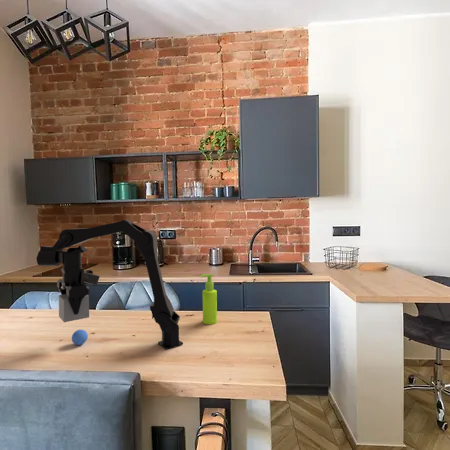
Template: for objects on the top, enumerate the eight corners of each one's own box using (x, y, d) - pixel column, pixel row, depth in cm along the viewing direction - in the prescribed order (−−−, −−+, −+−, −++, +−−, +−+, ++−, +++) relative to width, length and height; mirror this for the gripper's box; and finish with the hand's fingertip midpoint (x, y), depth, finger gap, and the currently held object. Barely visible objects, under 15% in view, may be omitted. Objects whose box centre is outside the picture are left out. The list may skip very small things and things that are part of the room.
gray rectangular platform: (89, 317, 103) (88, 296, 103) (64, 322, 98) (63, 299, 98) (82, 311, 109) (82, 291, 109) (58, 316, 104) (58, 295, 104)
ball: (69, 342, 101) (82, 349, 103) (80, 329, 103) (92, 336, 105) (67, 337, 105) (78, 344, 107) (77, 325, 107) (88, 332, 109)
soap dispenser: (198, 321, 127) (198, 273, 127) (213, 318, 130) (213, 272, 130) (203, 325, 122) (202, 276, 122) (219, 323, 125) (218, 274, 124)
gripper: (105, 266, 101) (106, 313, 101) (89, 260, 115) (90, 301, 116) (68, 270, 94) (69, 320, 94) (56, 263, 108) (57, 307, 108)
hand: (73, 311), depth 103 cm, fingers closed on gray rectangular platform, 8 cm apart
